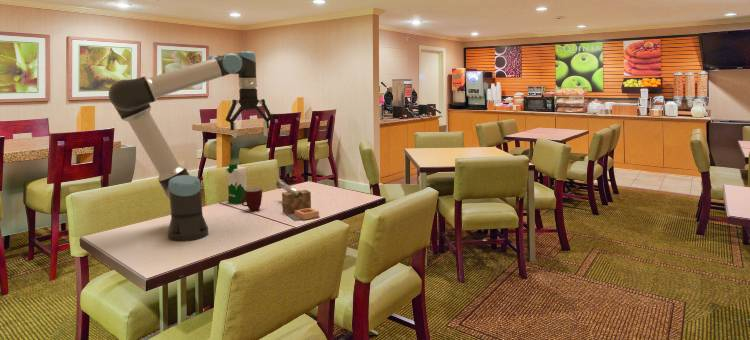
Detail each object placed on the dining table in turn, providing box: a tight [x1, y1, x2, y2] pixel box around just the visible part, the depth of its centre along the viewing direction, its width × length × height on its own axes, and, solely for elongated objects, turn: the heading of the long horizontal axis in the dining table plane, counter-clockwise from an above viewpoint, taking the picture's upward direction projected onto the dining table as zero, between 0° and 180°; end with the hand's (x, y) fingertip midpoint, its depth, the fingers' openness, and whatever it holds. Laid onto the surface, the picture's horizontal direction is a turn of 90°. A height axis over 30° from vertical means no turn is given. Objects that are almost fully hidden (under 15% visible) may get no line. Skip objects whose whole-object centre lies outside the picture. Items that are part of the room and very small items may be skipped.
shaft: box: [275, 179, 300, 197], centre depth 233 cm, size 26×5×5 cm, turn 29°
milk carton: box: [225, 163, 248, 205], centre depth 241 cm, size 9×9×20 cm
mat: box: [286, 213, 321, 222], centre depth 217 cm, size 12×11×1 cm
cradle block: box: [281, 189, 312, 216], centre depth 223 cm, size 12×6×10 cm, turn 118°
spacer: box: [295, 207, 320, 221], centre depth 215 cm, size 8×2×8 cm
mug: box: [241, 187, 263, 212], centre depth 226 cm, size 11×8×10 cm
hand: (250, 136), depth 209 cm, fingers open, 13 cm apart
